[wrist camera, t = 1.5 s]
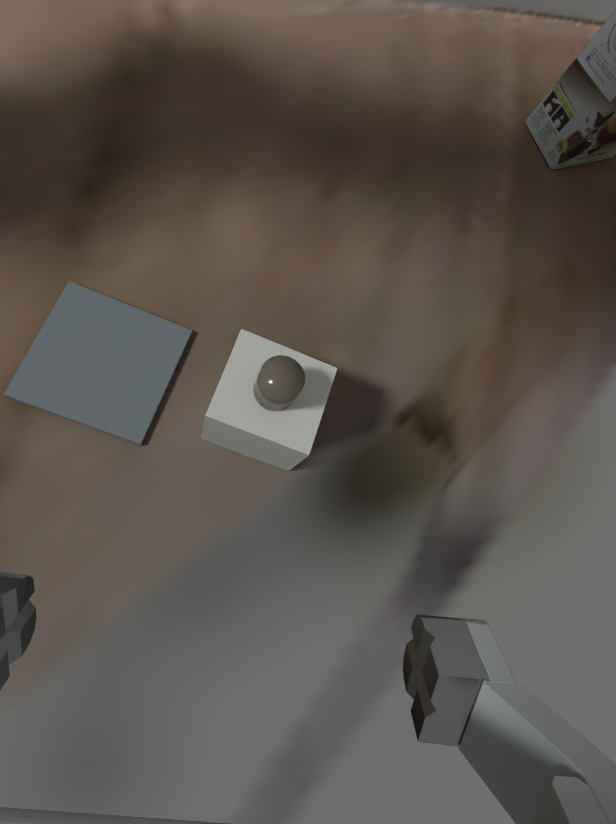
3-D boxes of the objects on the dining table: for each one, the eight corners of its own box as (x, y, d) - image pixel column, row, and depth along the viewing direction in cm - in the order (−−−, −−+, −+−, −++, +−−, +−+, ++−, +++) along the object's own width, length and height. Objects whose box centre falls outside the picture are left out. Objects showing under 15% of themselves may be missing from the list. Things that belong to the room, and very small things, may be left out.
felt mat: (5, 396, 32) (3, 394, 32) (70, 283, 35) (69, 280, 35) (140, 445, 33) (140, 444, 33) (192, 332, 36) (192, 330, 36)
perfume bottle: (200, 438, 34) (207, 403, 26) (231, 363, 36) (246, 310, 28) (288, 471, 35) (320, 446, 27) (313, 396, 37) (350, 353, 29)
